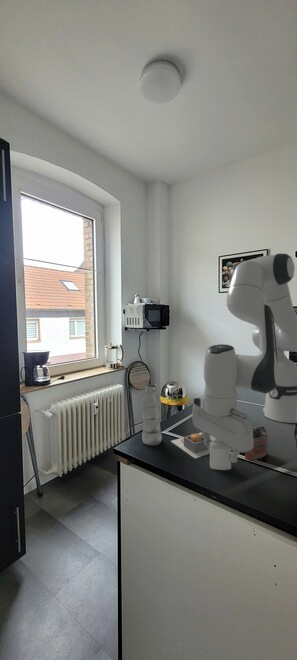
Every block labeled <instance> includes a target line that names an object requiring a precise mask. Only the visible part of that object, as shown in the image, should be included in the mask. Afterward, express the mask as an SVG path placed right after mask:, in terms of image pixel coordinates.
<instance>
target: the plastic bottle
mask: <svg viewBox="0 0 297 660" xmlns="http://www.w3.org/2000/svg"><path fill="white" fill-rule="evenodd" d="M144 392H145V393H144V395H143V396H142V398H141V402H140V403H141V409H142V421H143V425H142V434H141V439H142V443H143V445H144V444H145V445H146V446H153V447H154V446H158V445H160V444H161V443H162V439H163V436H162V430H161V423H160V421H161V420H160V419H161V418H160V416H161V415H160V414H161V406H162V401H161V398H160V396H159V395H158V394H157V392H158V390H157V385H156V384H147V385H145V389H144Z"/></svg>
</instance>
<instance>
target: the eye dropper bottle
mask: <svg viewBox="0 0 297 660" xmlns="http://www.w3.org/2000/svg"><path fill="white" fill-rule="evenodd" d="M231 453H232V450H231V446H229V445H227V444H226V443H224V442H222V441H220V440H218V439H217V438H216V440H215V441H212V442H211V443H210V454H209V466H210V469H212V470H218V471H228V470H232V462H231V461H229V460H228V458H229V457H228V454H231Z"/></svg>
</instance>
